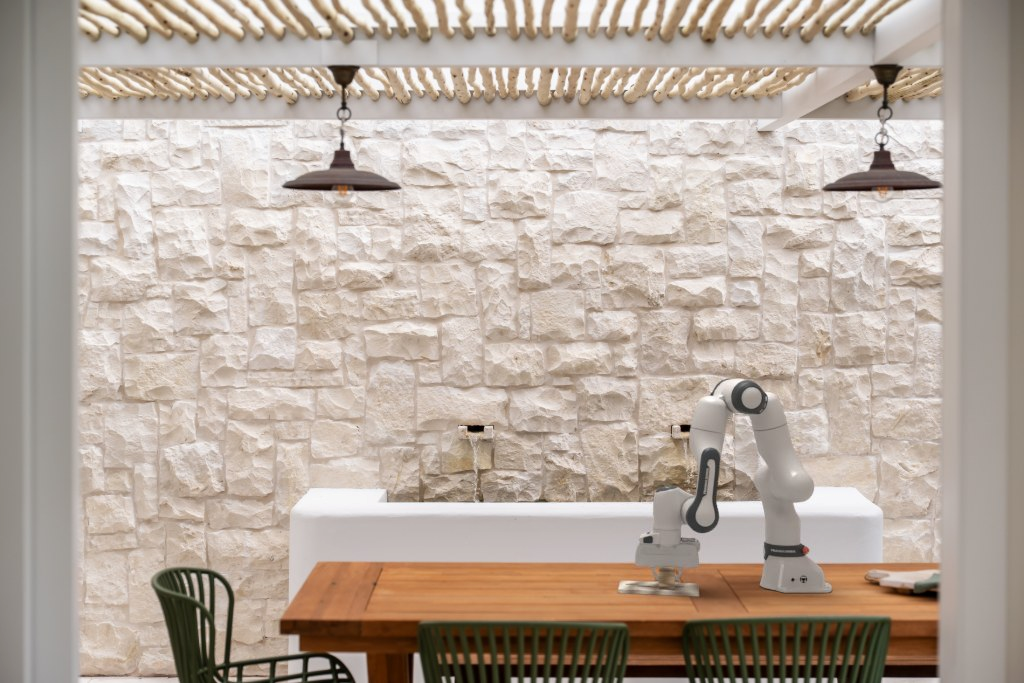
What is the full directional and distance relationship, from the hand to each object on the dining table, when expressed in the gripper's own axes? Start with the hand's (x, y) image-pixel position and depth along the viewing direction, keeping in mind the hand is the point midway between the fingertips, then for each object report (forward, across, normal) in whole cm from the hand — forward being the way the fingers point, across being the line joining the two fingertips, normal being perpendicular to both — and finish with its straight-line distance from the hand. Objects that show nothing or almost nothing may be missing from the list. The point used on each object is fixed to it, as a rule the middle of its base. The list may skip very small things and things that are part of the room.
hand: (666, 580), depth 352 cm
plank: (+3, +3, 0) cm, 4 cm away
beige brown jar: (+2, 0, 0) cm, 2 cm away
